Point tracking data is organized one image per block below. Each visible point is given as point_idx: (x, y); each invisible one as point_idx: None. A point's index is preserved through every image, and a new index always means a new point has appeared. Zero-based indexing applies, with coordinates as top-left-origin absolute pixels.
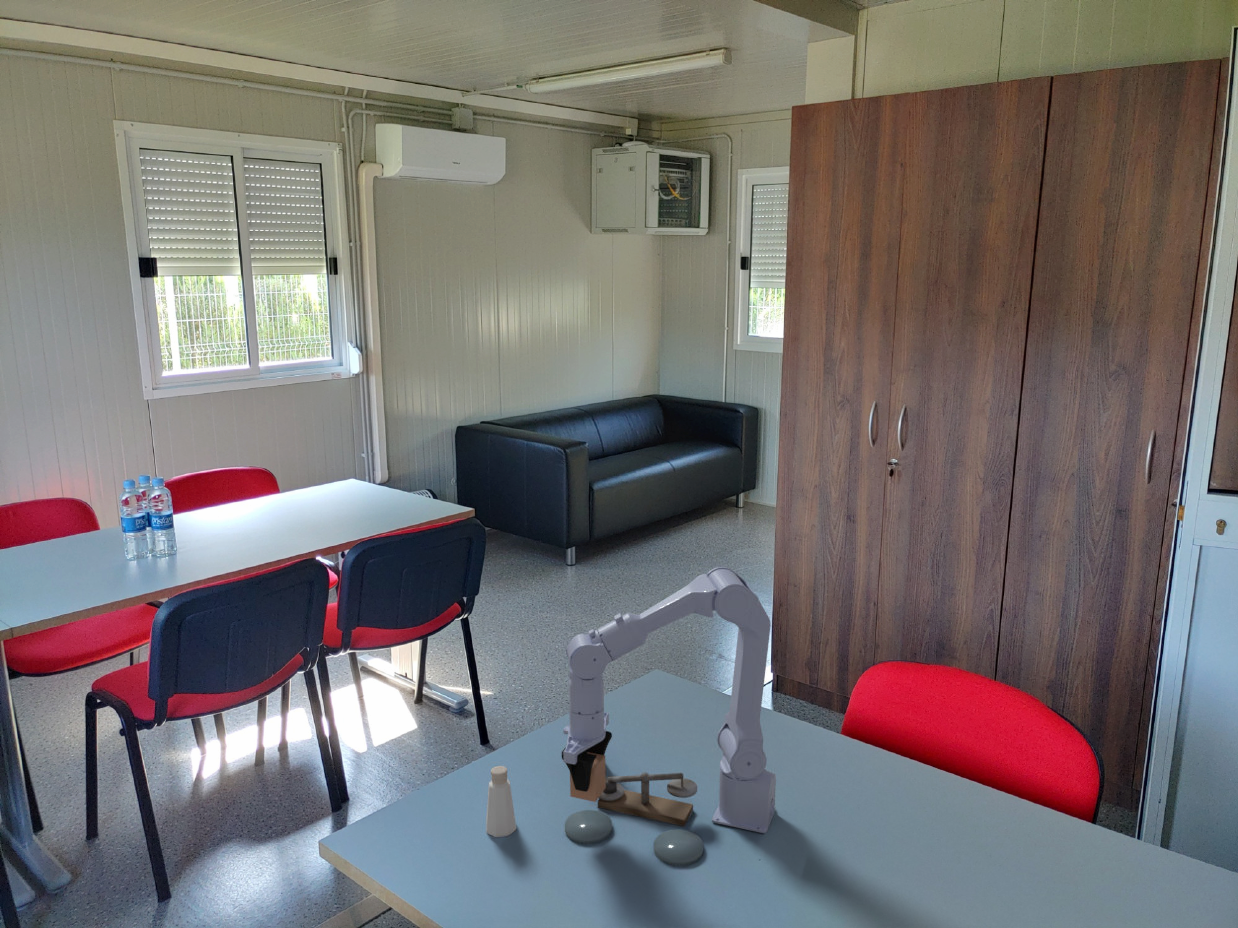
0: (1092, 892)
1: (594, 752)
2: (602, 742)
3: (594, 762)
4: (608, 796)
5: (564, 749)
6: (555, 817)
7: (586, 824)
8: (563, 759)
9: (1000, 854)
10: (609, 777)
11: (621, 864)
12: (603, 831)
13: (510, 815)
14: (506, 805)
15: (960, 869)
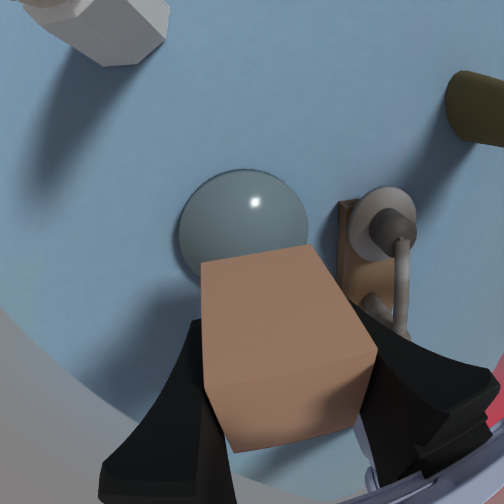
0: (328, 491)
1: (368, 397)
2: (381, 467)
3: (283, 435)
4: (358, 239)
5: (154, 500)
6: (246, 123)
7: (239, 234)
8: (108, 461)
9: (353, 474)
10: (405, 245)
11: (173, 342)
12: None
13: (103, 54)
14: (73, 45)
15: (331, 475)
